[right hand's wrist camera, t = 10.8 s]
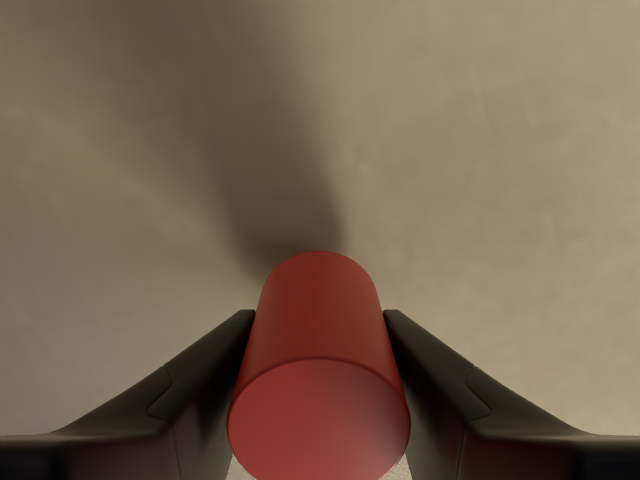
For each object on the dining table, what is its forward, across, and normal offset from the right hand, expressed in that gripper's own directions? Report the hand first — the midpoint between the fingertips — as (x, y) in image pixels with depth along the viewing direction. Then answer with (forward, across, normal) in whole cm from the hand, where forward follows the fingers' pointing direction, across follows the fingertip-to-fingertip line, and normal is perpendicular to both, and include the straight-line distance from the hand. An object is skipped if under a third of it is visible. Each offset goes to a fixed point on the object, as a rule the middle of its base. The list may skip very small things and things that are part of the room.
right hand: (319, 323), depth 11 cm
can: (+1, 0, 0) cm, 1 cm away
